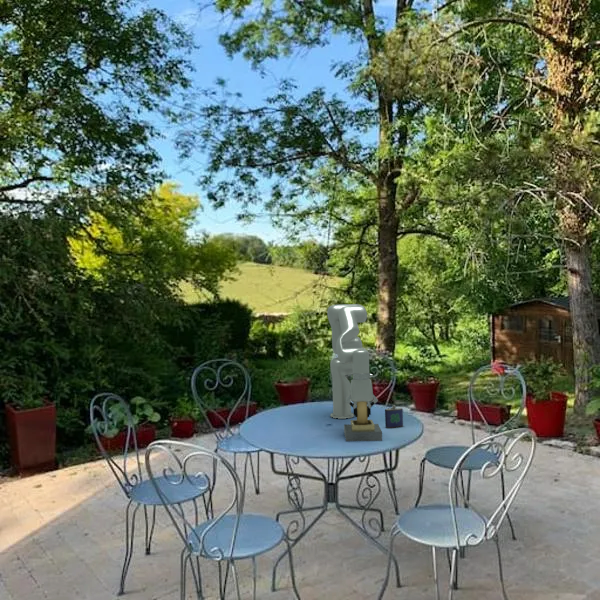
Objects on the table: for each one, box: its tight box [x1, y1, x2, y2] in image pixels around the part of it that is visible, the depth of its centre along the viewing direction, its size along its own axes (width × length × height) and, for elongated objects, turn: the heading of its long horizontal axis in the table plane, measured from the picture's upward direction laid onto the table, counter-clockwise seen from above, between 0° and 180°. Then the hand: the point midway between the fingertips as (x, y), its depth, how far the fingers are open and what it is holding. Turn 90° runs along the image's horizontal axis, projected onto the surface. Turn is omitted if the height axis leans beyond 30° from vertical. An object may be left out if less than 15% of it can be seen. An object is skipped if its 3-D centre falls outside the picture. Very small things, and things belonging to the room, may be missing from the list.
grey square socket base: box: [343, 419, 383, 442], centre depth 243 cm, size 14×16×6 cm
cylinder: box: [356, 402, 369, 424], centre depth 242 cm, size 5×5×11 cm
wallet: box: [384, 404, 404, 429], centre depth 258 cm, size 9×3×11 cm, turn 105°
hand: (362, 416), depth 243 cm, fingers closed on cylinder, 5 cm apart
